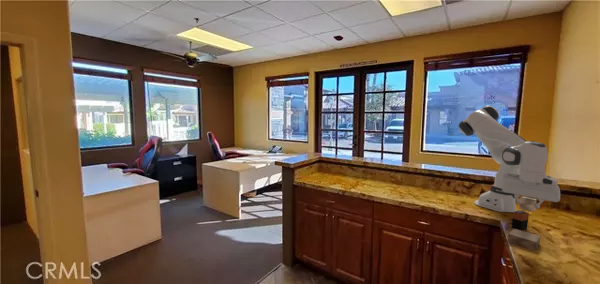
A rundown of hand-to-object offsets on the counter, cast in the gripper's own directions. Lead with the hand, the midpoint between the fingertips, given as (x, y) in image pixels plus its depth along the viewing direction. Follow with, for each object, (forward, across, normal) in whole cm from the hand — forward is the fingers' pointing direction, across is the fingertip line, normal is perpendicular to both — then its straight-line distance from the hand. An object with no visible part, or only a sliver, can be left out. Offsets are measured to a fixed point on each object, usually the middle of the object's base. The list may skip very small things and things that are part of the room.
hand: (527, 205), depth 122 cm
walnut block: (+18, 0, 0) cm, 18 cm away
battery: (+18, -5, +19) cm, 27 cm away
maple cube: (+2, 0, 0) cm, 2 cm away
